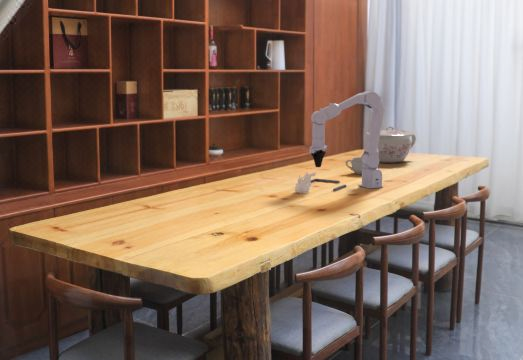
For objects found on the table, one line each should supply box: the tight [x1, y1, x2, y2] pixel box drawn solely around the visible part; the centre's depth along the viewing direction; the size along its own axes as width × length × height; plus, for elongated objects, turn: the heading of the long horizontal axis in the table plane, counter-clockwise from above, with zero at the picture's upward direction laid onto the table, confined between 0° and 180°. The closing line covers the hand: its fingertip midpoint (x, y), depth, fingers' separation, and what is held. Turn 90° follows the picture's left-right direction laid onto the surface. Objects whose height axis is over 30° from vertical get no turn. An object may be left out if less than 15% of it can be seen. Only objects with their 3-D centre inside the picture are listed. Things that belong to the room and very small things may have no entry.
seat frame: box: [311, 178, 347, 192], centre depth 311 cm, size 20×21×1 cm
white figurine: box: [294, 171, 317, 194], centre depth 295 cm, size 12×8×10 cm, turn 136°
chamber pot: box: [365, 125, 417, 164], centre depth 385 cm, size 28×28×21 cm
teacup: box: [345, 156, 363, 176], centre depth 344 cm, size 14×11×8 cm
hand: (318, 167), depth 303 cm, fingers closed
